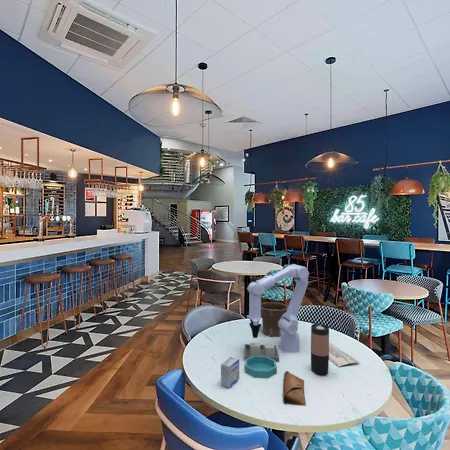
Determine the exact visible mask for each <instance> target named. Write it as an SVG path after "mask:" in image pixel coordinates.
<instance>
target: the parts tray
mask: <svg viewBox="0 0 450 450" xmlns="http://www.w3.org/2000/svg"><path fill="white" fill-rule="evenodd" d="M264 345H265V344H260V356H265V355H264ZM272 345H273V346H274V347H275V356H274V357H269V358H271V359H273V360H275V361H276V363H280V355H279V351H278V346H277V345H274V344H272ZM250 357H252V356H250V343H248V344H247V343H246V344H244V360H245V359H247V358H250Z"/></svg>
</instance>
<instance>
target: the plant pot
mask: <svg viewBox="0 0 450 450" xmlns="http://www.w3.org/2000/svg"><path fill="white" fill-rule="evenodd" d="M287 309H288V306H287V305H286V304H284V303H281V302H263V303H261V322H262V323H261V324H262V333H263V335H266V336H267V337H271V338H273V337H274V338H275V337H276V338H278V337H280V336H281V331H280V328H279V326H278V322H279V320H280V319H281V317H282V315H283V314H284V313H286V312H287Z"/></svg>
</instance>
